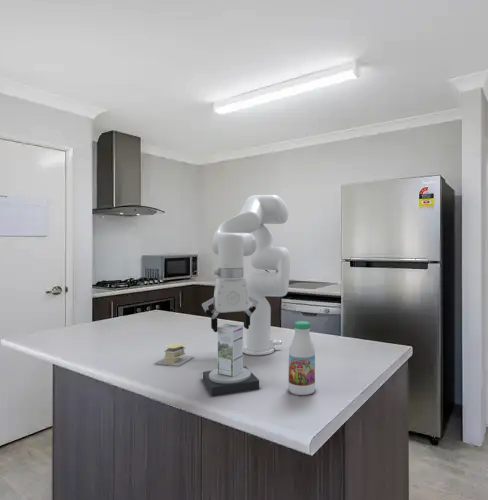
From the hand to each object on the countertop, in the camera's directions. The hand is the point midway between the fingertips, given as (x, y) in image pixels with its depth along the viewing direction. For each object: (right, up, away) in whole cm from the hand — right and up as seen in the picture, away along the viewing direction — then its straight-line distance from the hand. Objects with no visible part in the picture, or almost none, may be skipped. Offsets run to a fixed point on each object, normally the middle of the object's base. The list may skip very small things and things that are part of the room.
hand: (230, 329), depth 112 cm
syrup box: (0, -13, 0) cm, 13 cm away
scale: (0, -17, 0) cm, 17 cm away
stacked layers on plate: (-24, -16, +22) cm, 36 cm away
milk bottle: (+22, -17, -5) cm, 28 cm away
